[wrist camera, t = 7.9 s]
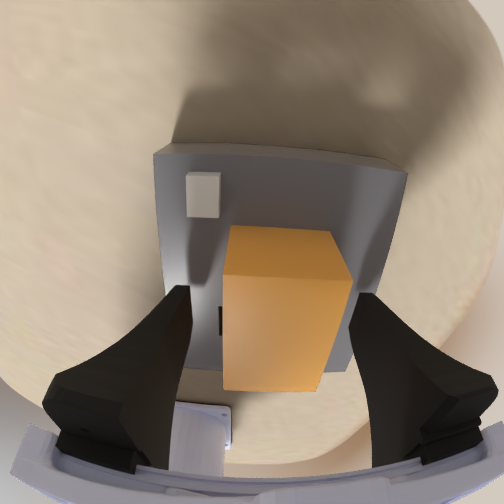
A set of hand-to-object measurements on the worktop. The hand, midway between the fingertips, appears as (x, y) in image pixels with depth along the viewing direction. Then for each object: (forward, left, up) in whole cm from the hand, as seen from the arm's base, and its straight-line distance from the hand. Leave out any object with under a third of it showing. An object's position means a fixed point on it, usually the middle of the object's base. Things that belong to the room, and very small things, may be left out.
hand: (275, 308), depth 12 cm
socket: (0, 0, -4) cm, 4 cm away
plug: (0, 0, -3) cm, 3 cm away
